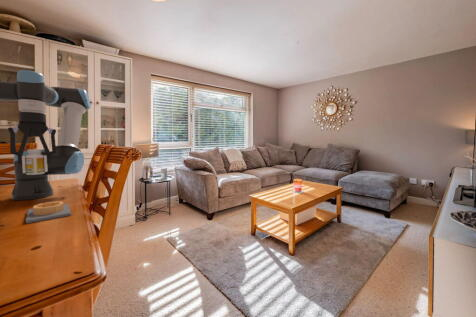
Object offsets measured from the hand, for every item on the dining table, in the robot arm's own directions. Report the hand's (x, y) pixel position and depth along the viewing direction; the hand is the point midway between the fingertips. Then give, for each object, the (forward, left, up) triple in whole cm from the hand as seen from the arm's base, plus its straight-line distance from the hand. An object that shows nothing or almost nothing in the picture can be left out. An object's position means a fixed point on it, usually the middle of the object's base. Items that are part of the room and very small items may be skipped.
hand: (35, 172), depth 83 cm
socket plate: (+4, +6, -16) cm, 17 cm away
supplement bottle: (0, 0, -1) cm, 1 cm away
